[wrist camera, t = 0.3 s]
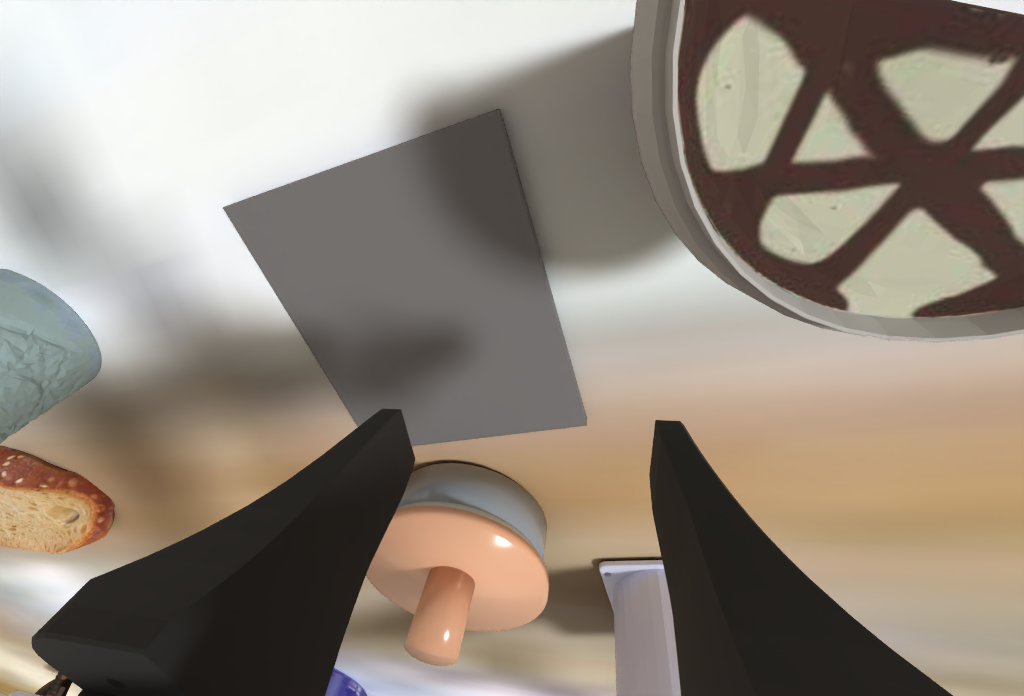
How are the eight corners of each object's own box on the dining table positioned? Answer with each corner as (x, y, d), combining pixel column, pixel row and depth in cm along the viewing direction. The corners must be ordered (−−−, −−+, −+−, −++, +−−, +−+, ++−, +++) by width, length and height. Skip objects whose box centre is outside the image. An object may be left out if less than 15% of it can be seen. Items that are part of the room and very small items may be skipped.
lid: (569, 620, 28) (565, 709, 24) (411, 617, 32) (384, 695, 28) (516, 498, 23) (499, 588, 19) (331, 512, 26) (284, 589, 22)
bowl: (565, 560, 32) (562, 617, 28) (431, 563, 35) (413, 615, 32) (522, 450, 26) (512, 504, 23) (369, 466, 30) (340, 515, 26)
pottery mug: (96, 652, 64) (74, 724, 59) (149, 649, 72) (134, 712, 67) (19, 669, 64) (-8, 742, 60) (81, 664, 72) (61, 728, 68)
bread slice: (-58, 494, 44) (-108, 526, 41) (-93, 385, 35) (-162, 416, 31) (115, 572, 47) (80, 607, 44) (125, 491, 38) (82, 528, 34)
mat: (586, 418, 24) (586, 425, 24) (376, 444, 28) (372, 450, 28) (499, 108, 17) (496, 109, 16) (231, 204, 21) (222, 207, 20)
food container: (574, 187, 18) (555, 282, 10) (625, 3, 15) (665, -100, 6) (865, 263, 18) (1110, 428, 9) (987, 91, 14) (1547, 108, 6)
